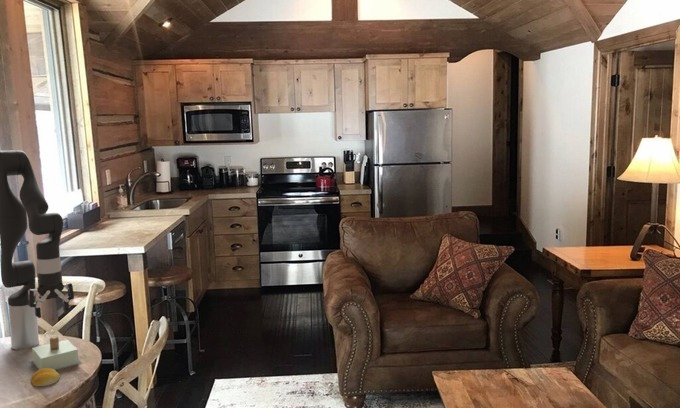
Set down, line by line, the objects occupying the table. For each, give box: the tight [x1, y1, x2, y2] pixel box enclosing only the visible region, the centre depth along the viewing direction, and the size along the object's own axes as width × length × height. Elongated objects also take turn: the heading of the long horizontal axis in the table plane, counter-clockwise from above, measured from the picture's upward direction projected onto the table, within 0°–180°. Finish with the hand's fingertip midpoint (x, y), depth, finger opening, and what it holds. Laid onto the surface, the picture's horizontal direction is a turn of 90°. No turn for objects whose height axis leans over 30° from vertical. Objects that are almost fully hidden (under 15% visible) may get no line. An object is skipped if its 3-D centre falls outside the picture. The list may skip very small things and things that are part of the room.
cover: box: [31, 336, 79, 370], centre depth 195 cm, size 12×12×9 cm
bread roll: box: [30, 368, 60, 387], centre depth 183 cm, size 8×9×4 cm
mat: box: [28, 358, 83, 372], centre depth 196 cm, size 14×14×1 cm
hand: (52, 314), depth 193 cm, fingers open, 8 cm apart
